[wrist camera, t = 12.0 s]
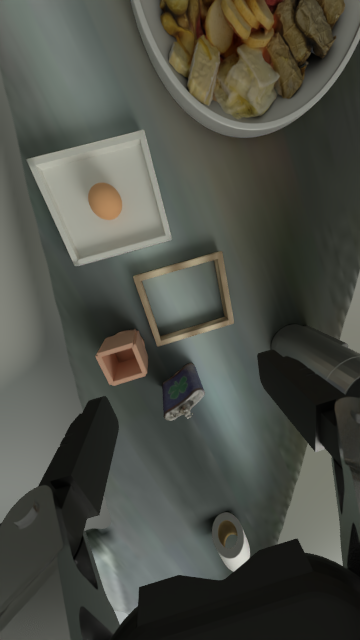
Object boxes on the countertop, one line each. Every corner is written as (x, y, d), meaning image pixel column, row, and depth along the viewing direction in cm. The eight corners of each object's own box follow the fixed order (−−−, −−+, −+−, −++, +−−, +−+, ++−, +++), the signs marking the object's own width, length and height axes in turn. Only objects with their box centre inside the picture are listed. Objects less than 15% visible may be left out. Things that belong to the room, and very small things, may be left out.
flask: (190, 360, 41) (202, 394, 31) (198, 368, 42) (212, 403, 32) (159, 385, 42) (161, 425, 32) (167, 392, 43) (172, 433, 33)
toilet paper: (241, 522, 67) (255, 565, 58) (215, 532, 67) (225, 577, 57) (235, 507, 63) (249, 551, 54) (208, 518, 63) (217, 564, 54)
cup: (138, 326, 37) (135, 341, 30) (149, 355, 39) (148, 375, 33) (104, 336, 36) (93, 354, 30) (117, 365, 39) (110, 387, 32)
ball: (118, 185, 28) (111, 172, 24) (128, 218, 29) (124, 211, 25) (88, 193, 28) (77, 181, 23) (101, 225, 29) (92, 220, 25)
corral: (217, 251, 34) (222, 251, 32) (229, 319, 39) (234, 323, 37) (134, 275, 33) (132, 276, 31) (157, 341, 38) (157, 346, 36)
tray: (144, 141, 27) (144, 129, 25) (170, 240, 32) (171, 239, 30) (38, 168, 27) (26, 159, 24) (81, 265, 32) (74, 266, 29)
